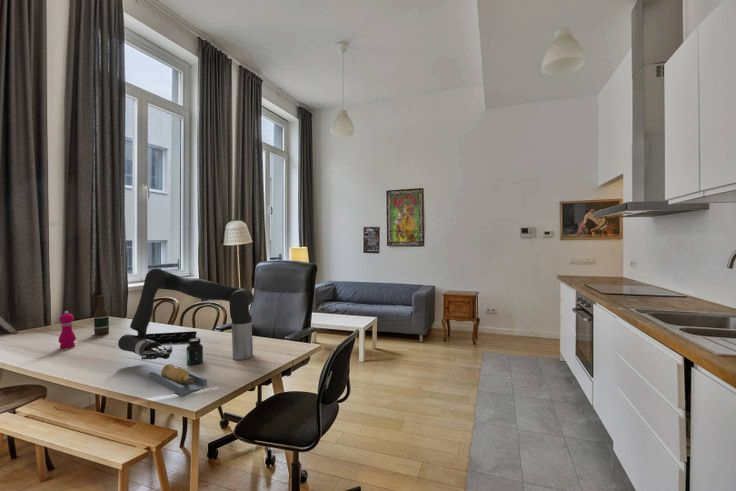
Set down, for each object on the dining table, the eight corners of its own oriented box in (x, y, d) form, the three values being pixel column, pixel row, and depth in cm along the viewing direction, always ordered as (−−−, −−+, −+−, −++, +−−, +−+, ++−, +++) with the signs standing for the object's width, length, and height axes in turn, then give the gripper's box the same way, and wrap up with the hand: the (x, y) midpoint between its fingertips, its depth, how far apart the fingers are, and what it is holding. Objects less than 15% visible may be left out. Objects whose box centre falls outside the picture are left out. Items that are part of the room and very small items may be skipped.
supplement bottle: (186, 368, 160) (185, 342, 160) (187, 363, 166) (186, 338, 166) (203, 366, 163) (202, 340, 163) (203, 361, 169) (202, 336, 169)
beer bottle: (97, 336, 216) (96, 296, 215) (91, 334, 220) (90, 295, 219) (111, 333, 222) (110, 295, 222) (106, 331, 226) (105, 294, 226)
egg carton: (195, 342, 201) (195, 336, 201) (133, 349, 191) (133, 342, 191) (198, 334, 218) (197, 328, 218) (141, 340, 207) (141, 334, 207)
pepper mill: (78, 346, 196) (77, 310, 195) (63, 350, 189) (62, 312, 189) (71, 344, 199) (70, 309, 198) (55, 348, 192) (54, 311, 192)
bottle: (177, 365, 150) (200, 375, 140) (171, 379, 148) (193, 389, 137) (165, 362, 146) (188, 372, 136) (158, 376, 144) (181, 387, 133)
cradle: (149, 381, 146) (148, 372, 146) (173, 373, 155) (173, 365, 154) (181, 396, 131) (181, 387, 131) (207, 387, 140) (206, 378, 139)
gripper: (131, 344, 151) (150, 351, 141) (163, 337, 162) (183, 343, 152) (131, 361, 152) (150, 370, 142) (163, 353, 162) (183, 360, 152)
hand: (167, 356), depth 147 cm, fingers closed
